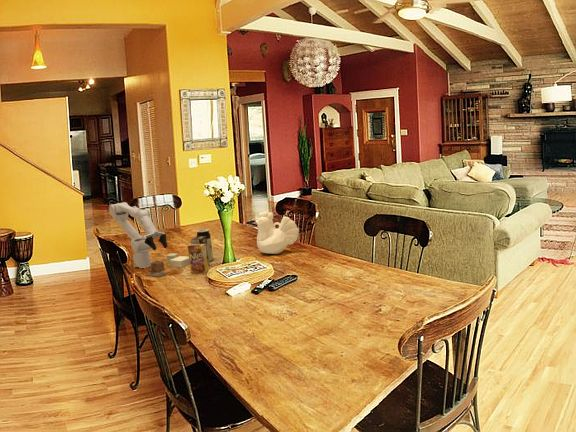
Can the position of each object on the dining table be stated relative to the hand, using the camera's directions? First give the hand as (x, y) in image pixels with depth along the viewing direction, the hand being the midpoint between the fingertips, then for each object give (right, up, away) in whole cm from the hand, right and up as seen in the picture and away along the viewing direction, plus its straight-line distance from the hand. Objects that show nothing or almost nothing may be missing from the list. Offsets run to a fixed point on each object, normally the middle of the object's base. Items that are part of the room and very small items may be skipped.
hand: (160, 248), depth 297 cm
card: (-1, -14, -5) cm, 15 cm away
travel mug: (+22, -8, +17) cm, 29 cm away
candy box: (+22, -12, -7) cm, 26 cm away
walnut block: (-2, -13, +3) cm, 13 cm away
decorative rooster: (+64, -4, +19) cm, 67 cm away
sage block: (+3, -10, +19) cm, 21 cm away
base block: (+9, -10, +12) cm, 18 cm away
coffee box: (+22, -10, +6) cm, 25 cm away
